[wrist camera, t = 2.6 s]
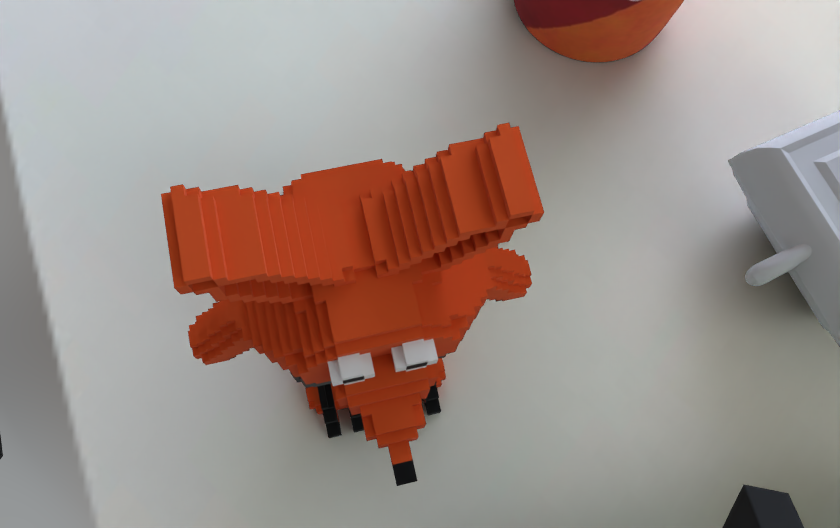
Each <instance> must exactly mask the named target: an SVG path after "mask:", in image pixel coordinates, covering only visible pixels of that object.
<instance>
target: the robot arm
mask: <svg viewBox="0 0 840 528" xmlns="http://www.w3.org/2000/svg"><path fill="white" fill-rule="evenodd" d="M2 456H3V453H2V444H1V436H0V459H1V458H2ZM723 528H804V526H803V524H802V522H801V520H800V518H799V515H798V513H797V511H796V509H795V507H794V505H793V502H792V500H791V498H790V496H789V494H788V493H784V492H779V491H774V490H769V489H764V488H758V487H753V486H748V485H743V487H742V489H741V491H740V493H739V495H738V497H737V499H736V501H735V503H734V505H733V507H732V509H731V511H730V513H729V515H728V517H727V519H726V521H725V524H724V526H723Z"/></svg>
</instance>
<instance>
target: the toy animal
mask: <svg viewBox="0 0 840 528" xmlns="http://www.w3.org/2000/svg"><path fill="white" fill-rule="evenodd" d="M170 189H171V192H169V193H164V194H161V197H162V204H163V212H164V219H165V226H166V233H167V240H168V247H169V254H170V261H171V268H172V275H173V282H174V288H175V289H176V290H177V291H178V292H179V293H180V294H185V293H190V292H194V293H195V294H196V295H199V294H204V293H210V295H211V296H212V297H213V298H214V299H215V300H216V302H217V303H213V308H211V309H208V311H207V312H203V313H202V315H199V316H196V321H197V322H195V324H193V325H189V329H190V331H188V334H189V341H190V347H191V348H192V350H193V356H194V357H195V358H197V359H200V358H202V361H203V363H204V364H206V365H208V364H213V363H218V362H222V361H227V360H230V359H232V358H235V357H236V355H238V354H243V352H244V351H249V348H255V349H256V350H257V351H258V352H259V354H263V353H265V355H266V356H267V357H268V358H269V359H270V361H271V362H272V363H275V362H278V364H279V365H280V366H281V368H282V369H283V370H287V369H289V370H290V372H291V374H292V376H293V377H294V378H295V380H296V381H297V382H302V383H303V385H304V386H305V387H306V388H305V389H306V394H307V399H308V402H309V407H310V409H316V412H317V414H322V413H323V416H324V421H325V424H326V428H327V433H328V437H329V438H332V437H336V436H341V435H342V434H341V429H340V424H339V419H338V414H337V410H340V409H344V408H349V412H350V417H351V420H352V425H353V430H354V432H358V431H362V430H365V435H366V439H367V441H369V440H374V439H377V443H378V448H383V447H388V448H389V452H390V457H391V462H392V466H393V470H394V475H395V480H396V484H397V486H399V485H403V484H407V483H411V482H415V481H417V477H416V473H415V468H414V464H413V459H412V455H411V450H410V446H409V441H413V440H417V438H418V432H417V429H421V428H424V427H425V425H426V421H425V417H424V413H423V408H422V401H421V399H424V400H425V405H426V409H427V413H428V415H432V414H436V413H440V412H441V409H440V405H439V400H438V398H439V395H438V391H437V387H441V385H442V383H441V380H444V379H445V378H446V376H445V372H444V371H445V369H444V365H443V360H442V358H443V357H445V356H446V354H447V353H452V352H455V351H456V348H457V346H458V344H459V342H460V341H462V339H463V337H464V335H465V333H466V331H467V330H469V328H470V326H471V324H472V322H473V320H474V319H475V318H476V316H477V314H478V312H479V310H480V308H481V306H483V305H484V303H485V301H486V299H490V300H494V299H496V301H501V300H502V301H505V300H510V299H514V298H519V297H524V296H525V294H526V293H527V291H526V288H529V287H530V286H531V285H532V282H531V278H530V276H531V271H530V267H529V264H528V260H525V257H524V255H523V256H518V255H516V252H515V250H511V251H509V249H505V250H503V248H500V249H498V243H503V242H508V241H509V240H510V238H511V236H512V234H513V232H514V230H516V229H521V228H525V227H526V226H527V224H528V223H532V222H537V221H540V219H541V217H542V215H543V214H544V210H543V207H542V203H541V200H540V197H539V193H538V190H537V187H536V183H535V180H534V176H533V173H532V170H531V166H530V163H529V160H528V156H527V153H526V149H525V146H524V143H523V139H522V136H521V133H520V129H519V126H517V127H512V128H511V127H510V124H509V123H505V124H500V125H497V128H496V131H491V132H485V133H484V136H483V138H481V139H475V140H470V141H465V142H460V143H454V144H449V148H448V150H444V151H439V152H437V154H436V157H433V158H428V159H425V163H424V164H421V165H416V166H413V171H411V170H409V171H405V170H404V169H403V167H402V164H398V165H395V162H386V163H383V161H382V159H379V160H374V161H369V162H364V163H358V164H353V165H348V166H343V167H337V168H332V169H327V170H322V171H316V172H311V173H306V174H301V179H298V180H292V182H291V185H289V186H284V187H283V191H284V192H283V194H284V195H280V194H279V192H276V193H271V194H267V192H266V190H261V191H256V192H254V191H253V189H252V187H251V188H246V189H240V188H239V186H238V185H234V186H229V187H224V188H219V189H213V190H208V191H203V192H201V190H200V189H199V187H196V188H190V189H186V188H185V187H184V185H183V184H182V185H177V186H172V187H170ZM218 301H220V302H218Z"/></svg>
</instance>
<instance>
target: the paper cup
mask: <svg viewBox="0 0 840 528" xmlns="http://www.w3.org/2000/svg"><path fill="white" fill-rule="evenodd" d="M683 1H684V0H514V3H515V7H516V10H517V13H518V15H519V17H520V19H521V21H522V22H523V24H524V25H525V27H526V28H527V29H528V31H529V32H530V33H531V34H532V35H533V36H534V37H535V38H536V39H537V40H538V41H539V42H541V43H542V44H543V45H545V46H546V47H548V48H549V49H551V50H553V51H555V52H556V53H559V54H561V55H563V56H566V57H569V58H572V59H576V60H580V61H586V62H609V61H615V60H619V59H623V58H626V57H628V56H631V55H633V54H635V53H637V52H638V51H640V50H641V49H643V48H644V47H646V46H647V45H648V44H649V43H650V42H651V41H652V40H653V39H654V38H655V37H656V36H657V35H658V34H659V33H660V31H661V30H662V29H663V28H664V26H665V25H666V24H667V23H668V21H669V20H670V19H671V17H672V16H673V15H674V13H675V12H676V11H677V9H678V8H679V7H680V5H681V4H682V3H683Z"/></svg>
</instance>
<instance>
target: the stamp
mask: <svg viewBox="0 0 840 528" xmlns="http://www.w3.org/2000/svg"><path fill="white" fill-rule="evenodd" d="M728 162H729V164H730V166H731V167H732V170H733V174H734V176H735V178H736V180H737V182H738V184H739V185H740V187H741V189H742V191H743V193H744V195H745V196H746V199H747V205H748V207H749V209H750V210H751V212H752V214H753V215H754V217H755V218H756V220H757V222H758V223H759V225H760V227H761V228H762V230H763V231H764V233H765V235H766V236H767V238H768V240H769V241H770V243H771V244H772V246H773V248H774V249H775V251H776V253H777V254H775V255H773V256H771V257H769V258H767V259H765V260H763V261H761V262H759V263H757V264H755V265H754V266H752V267H751V268H750V269H749V270H748V271H747V272H746V274H745V279H746V282H747V283H748V284H750V285H752V286H760V285H763V284H765V283H767V282H769V281H771V280H773V279H775V278H776V277H778V276H780V275H782V274H784V273H787V272H789V274H790V275H791V277H792V279H793V280H794V282H795V283H796V285H797V287H798V288H799V290H800V292H801V293H802V295H803V297H804V298H805V300H806V301H807V303H808V305H809V306H810V308H811V310H812V311H813V313H814V314H815V316H816V318H817V319H818V321H819V323H820V324H821V326H822V327H823V328H824V329H826V330H827V331H829V333H830V334H831V336H832V337H833V338H834V340H835V341H836V343H837V344H838V346H839V347H840V110H839V111H837V112H834V113H832V114H830V115H827V116H825V117H823V118H821V119H818V120H816V121H814V122H811V123H809V124H807V125H804V126H802V127H800V128H797V129H795V130H793V131H790V132H788V133H786V134H783V135H781V136H779V137H776V138H774V139H772V140H769V141H767V142H765V143H762V144H760V145H758V146H755V147H753V148H751V149H748V150H746V151H744V152H741V153H739V154H738V155H736V156H735V157H733V158H732V159H730V160H728Z"/></svg>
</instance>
